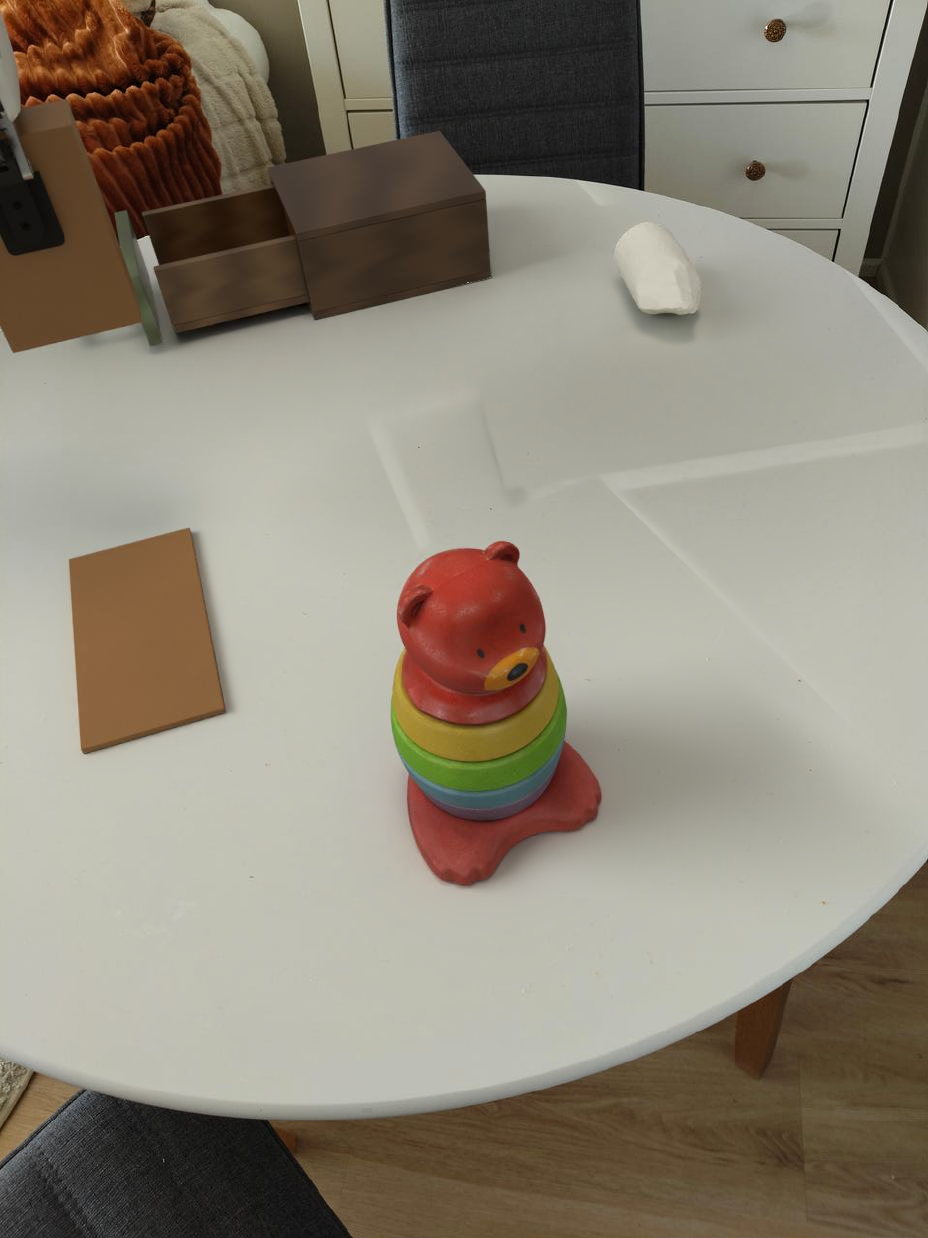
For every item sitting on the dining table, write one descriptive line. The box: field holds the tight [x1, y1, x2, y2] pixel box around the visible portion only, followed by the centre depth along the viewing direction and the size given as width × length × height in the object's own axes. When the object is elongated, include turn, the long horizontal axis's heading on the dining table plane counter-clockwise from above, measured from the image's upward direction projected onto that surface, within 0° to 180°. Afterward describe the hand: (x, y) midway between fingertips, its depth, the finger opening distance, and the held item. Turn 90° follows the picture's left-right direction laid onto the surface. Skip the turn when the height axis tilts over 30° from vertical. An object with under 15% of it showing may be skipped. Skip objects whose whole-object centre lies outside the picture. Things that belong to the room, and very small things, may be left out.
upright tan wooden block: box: [0, 98, 142, 354], centre depth 58 cm, size 8×4×12 cm, turn 109°
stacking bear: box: [390, 540, 603, 886], centre depth 51 cm, size 11×10×18 cm
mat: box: [68, 527, 227, 755], centre depth 68 cm, size 18×9×1 cm, turn 18°
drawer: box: [114, 183, 310, 347], centre depth 93 cm, size 22×13×7 cm, turn 108°
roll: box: [613, 221, 703, 316], centre depth 88 cm, size 6×12×6 cm, turn 8°
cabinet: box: [267, 130, 492, 321], centre depth 96 cm, size 18×15×9 cm
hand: (35, 227), depth 58 cm, fingers closed on upright tan wooden block, 4 cm apart
